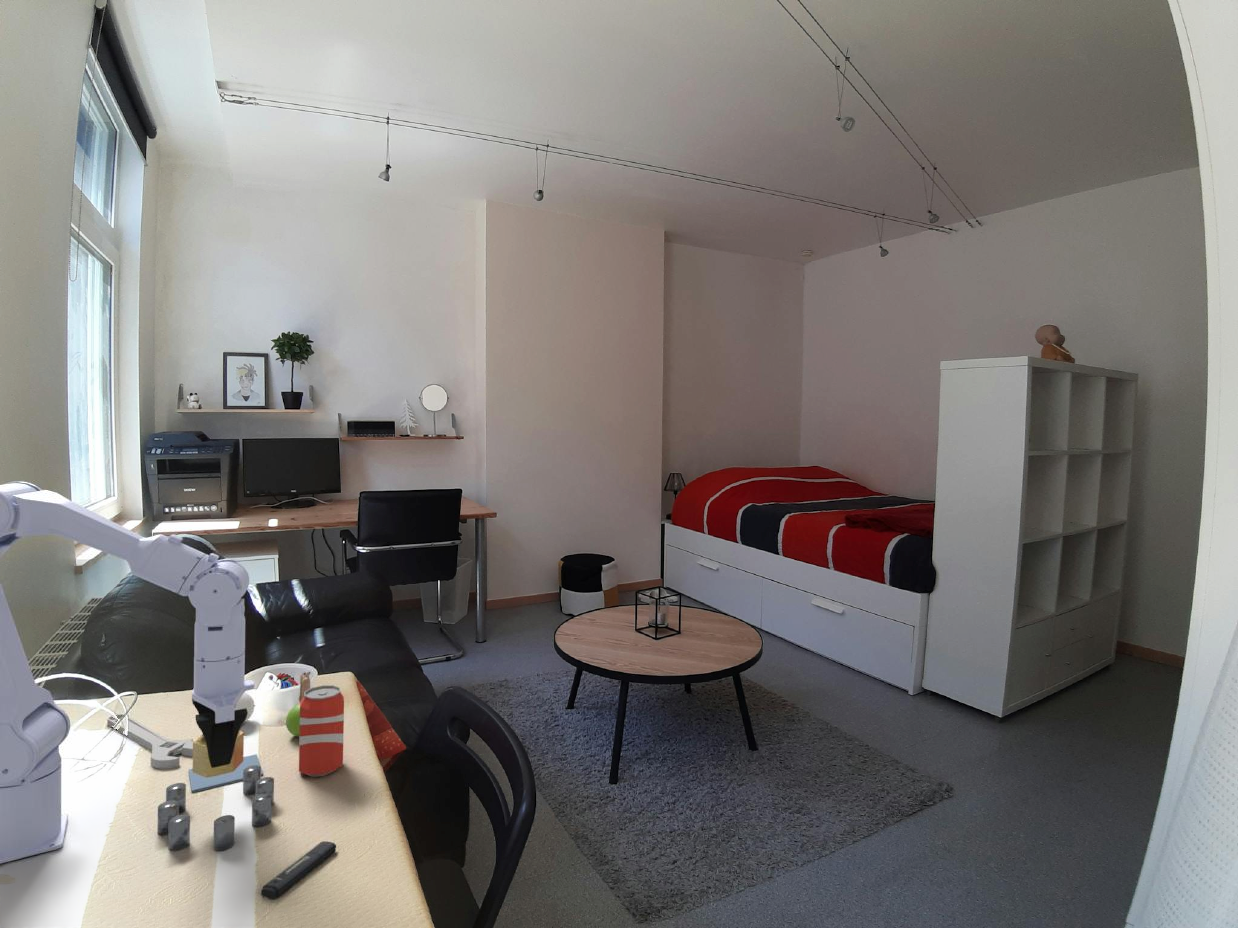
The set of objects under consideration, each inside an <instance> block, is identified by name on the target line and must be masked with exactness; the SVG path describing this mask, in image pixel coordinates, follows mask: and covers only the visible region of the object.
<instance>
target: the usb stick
mask: <svg viewBox="0 0 1238 928" xmlns="http://www.w3.org/2000/svg"><path fill="white" fill-rule="evenodd" d="M336 848H337V844H336V843H334V842H331V841H323V840H322V841H321V842H319V843H318V844H317V845H316V846H314V847H313V848H311V849H310V850H308V851H307V852H306V853H305V854H304V855H302V856H301V857H299V858H298V859H297V860H296V861H294V862H292V864H291V865H289V866H288V867H286V868H285V869H284V870H283V871H281V872H280V873H278V874H276V876H275V877H273V878H272V879H270V880H269V881H268V882H267V883H266V884H264V885H263V886H262V888H261V890H260V895H261V896H262V897H263V898H267V899H269V900H272V901H273V900H275V899H279V898H281V897H282V896H283V895H284V894H286V893H287V892H288V891H290V889H292V888H293V887H295V886H296V885H297V884H299V883H300V881H302V880H303V879H304V878H305V877H307V876H308V875H310V874H311V873H312V872H314V870H315V869H317V868H318V867H319V866H320V865H322V864H324V862H325V861H327V860H328V859H329V858H331V857H332V856H333V855H335V853H336Z"/></svg>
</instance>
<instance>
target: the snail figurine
mask: <svg viewBox="0 0 1238 928" xmlns="http://www.w3.org/2000/svg"><path fill="white" fill-rule="evenodd" d="M311 673H312V672H311V671H308V670H307V672H306V671H304V672H302V674H301V675H300V678H299V680H300V681H299V683H300V685H299V687H300V688H299V698H298V702H299V703H298V704H296V705H294V706H293V707H292V708H291V709H290V710H289V712H288V713H287V715H286V719H285V727H286V729H287V731H288V732H289V733H290V734H291V735H293V736H295V737H299V733H300V702H301V700H302V699H303V697H304V692H305V691H307V690H309V689H310V688H311V679H310V675H311Z"/></svg>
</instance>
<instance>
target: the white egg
mask: <svg viewBox="0 0 1238 928" xmlns="http://www.w3.org/2000/svg"><path fill="white" fill-rule="evenodd" d="M254 704H255V701H254V698H253V697H252V696H251V695H250V694H249V693H248V692H246V691H245V692H244V694H243V695H242V696H241V698H240V699H239V701H238V702H237V704H236V706H235V710H240V709H245V708H246V709H247V712H248V714H247V717H246V719H245V721H244V722H243V724H244V723H246V722H247V721H248V720H249V719H250V718H251V717H252V716H253V714H254V710H255V707H256V705H254Z"/></svg>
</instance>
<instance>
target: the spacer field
mask: <svg viewBox="0 0 1238 928" xmlns="http://www.w3.org/2000/svg"><path fill="white" fill-rule="evenodd" d="M261 768H262V766H261V767H260V766H258V765H253V766H249V767H247V768H245V769H244V770H243V780H242V793H243V795H244V796H252V795H255V796H254V797H252V800H251V825H252V827H254V828H261V827H264V826H265V827H266V826H267V825H268V824H270V823H271V820H272V805H273V804H274V802H275V801H274V800H275V798H274V797H275V792H274V791H275V778H274V777H271V776H264V777H262V776H261ZM186 789H187V784H186V783H185V782H176V783H173V784H170V785H168V786H167V787H166V788H165V801H164V802H162V803H160V804H159V805H158V806H157V834H158V835H161V836H163V835H164V836H165V835H168V836H167V837H168V838H167V839H168V841H167V842H168V843H167V845H168V850H169V851H173V852H175V851H180V850H182V849H185V848H187V847H189V845H190V842H191V840H190V839H191V815H189V814H181V813H183V812H185V810H186V807H187V805H186V800H187V799H186V798H187V797H186V796H187V795H186V794H187V790H186ZM179 814H180V815H179ZM235 823H236V822H235V816H234V815H231V814H225V815H222V816H219V817H218V818H215V820H214V821H213V850H214V851H216V852H222V851H226V850H229V849H231V848H233V846H234V845H235V826H236V825H235Z"/></svg>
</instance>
